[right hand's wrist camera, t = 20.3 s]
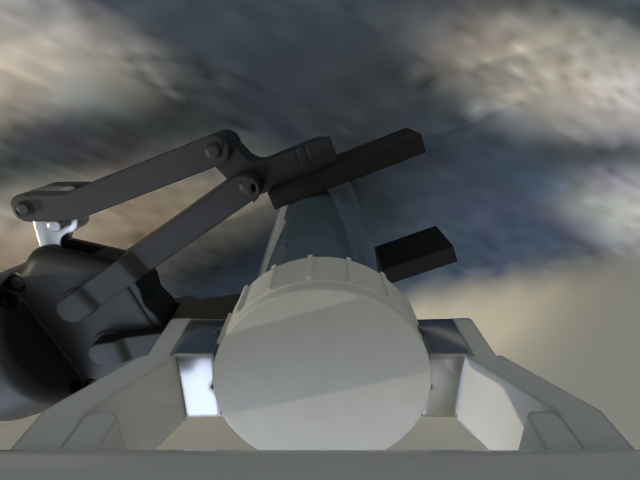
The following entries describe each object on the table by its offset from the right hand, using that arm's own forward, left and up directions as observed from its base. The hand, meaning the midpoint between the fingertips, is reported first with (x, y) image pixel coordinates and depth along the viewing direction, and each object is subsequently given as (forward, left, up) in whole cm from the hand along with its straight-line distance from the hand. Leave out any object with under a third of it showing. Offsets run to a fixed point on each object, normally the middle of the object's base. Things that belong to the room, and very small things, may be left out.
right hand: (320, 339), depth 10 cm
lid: (0, 0, +2) cm, 2 cm away
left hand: (-5, -1, -8) cm, 10 cm away
